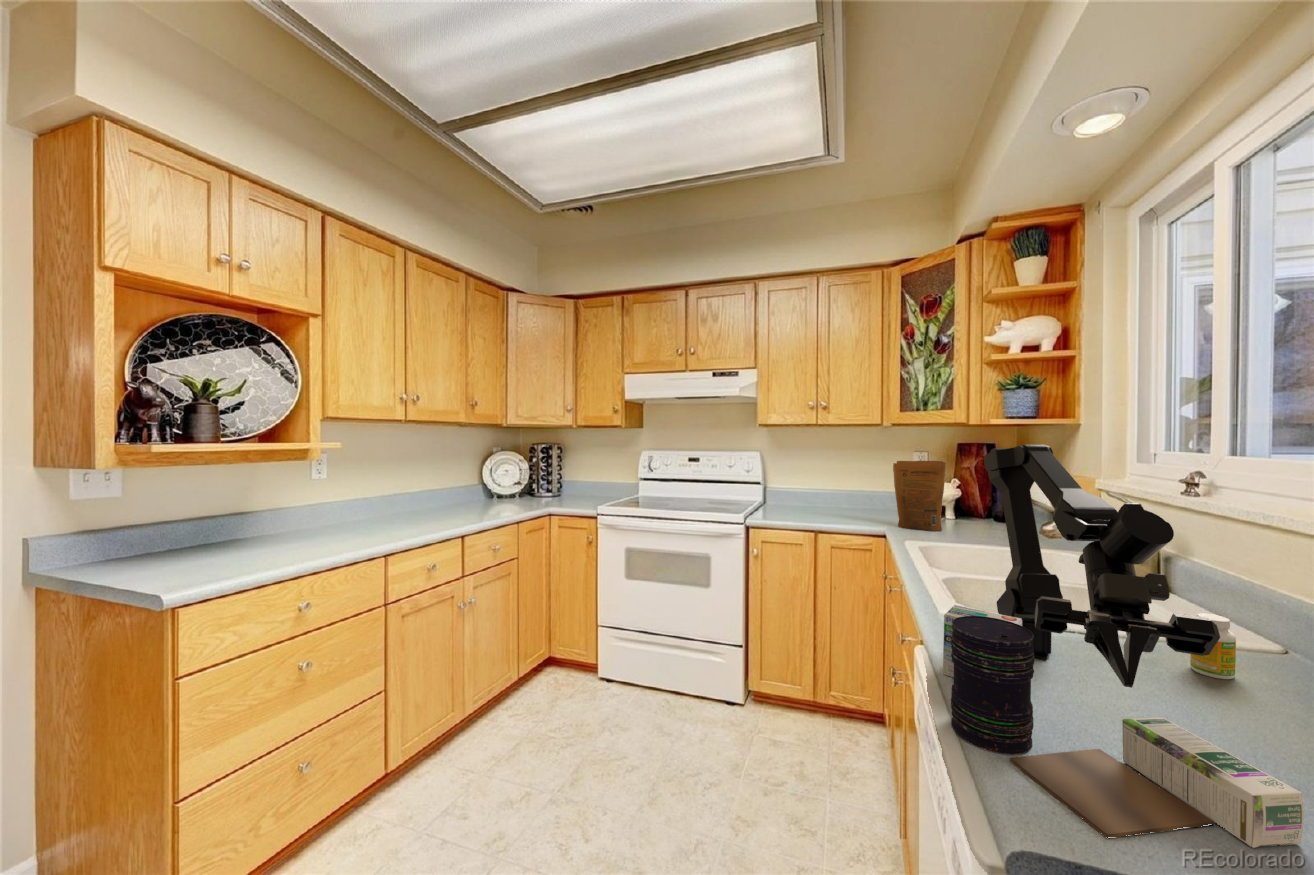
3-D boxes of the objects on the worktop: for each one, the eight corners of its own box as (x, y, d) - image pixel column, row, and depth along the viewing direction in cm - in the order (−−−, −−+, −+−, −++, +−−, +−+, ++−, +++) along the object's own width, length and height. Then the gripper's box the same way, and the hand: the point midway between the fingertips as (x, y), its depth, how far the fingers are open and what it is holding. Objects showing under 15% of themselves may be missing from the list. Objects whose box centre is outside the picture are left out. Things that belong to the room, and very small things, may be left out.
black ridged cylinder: (937, 714, 80) (938, 615, 80) (1004, 714, 80) (1005, 615, 80) (974, 755, 70) (975, 642, 70) (1051, 756, 70) (1052, 643, 70)
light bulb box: (941, 675, 93) (942, 613, 92) (952, 662, 98) (952, 603, 97) (1015, 696, 85) (1015, 629, 85) (1022, 681, 90) (1023, 617, 90)
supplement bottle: (1225, 682, 89) (1227, 625, 89) (1183, 669, 94) (1184, 614, 94) (1241, 676, 91) (1242, 620, 91) (1199, 663, 96) (1200, 609, 96)
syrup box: (1162, 715, 69) (1305, 790, 55) (1162, 760, 69) (1306, 847, 55) (1120, 717, 69) (1254, 793, 54) (1121, 763, 69) (1254, 851, 54)
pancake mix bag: (944, 533, 208) (945, 461, 208) (892, 528, 219) (892, 459, 219) (947, 530, 214) (947, 460, 213) (895, 525, 225) (895, 458, 224)
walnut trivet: (1107, 839, 56) (1107, 834, 56) (1010, 761, 69) (1010, 757, 69) (1213, 825, 58) (1213, 821, 58) (1099, 752, 71) (1099, 748, 71)
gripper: (1037, 541, 78) (1045, 643, 69) (1216, 556, 68) (1252, 677, 59) (1031, 580, 85) (1038, 678, 76) (1193, 599, 75) (1222, 714, 66)
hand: (1128, 685), depth 69 cm, fingers closed
